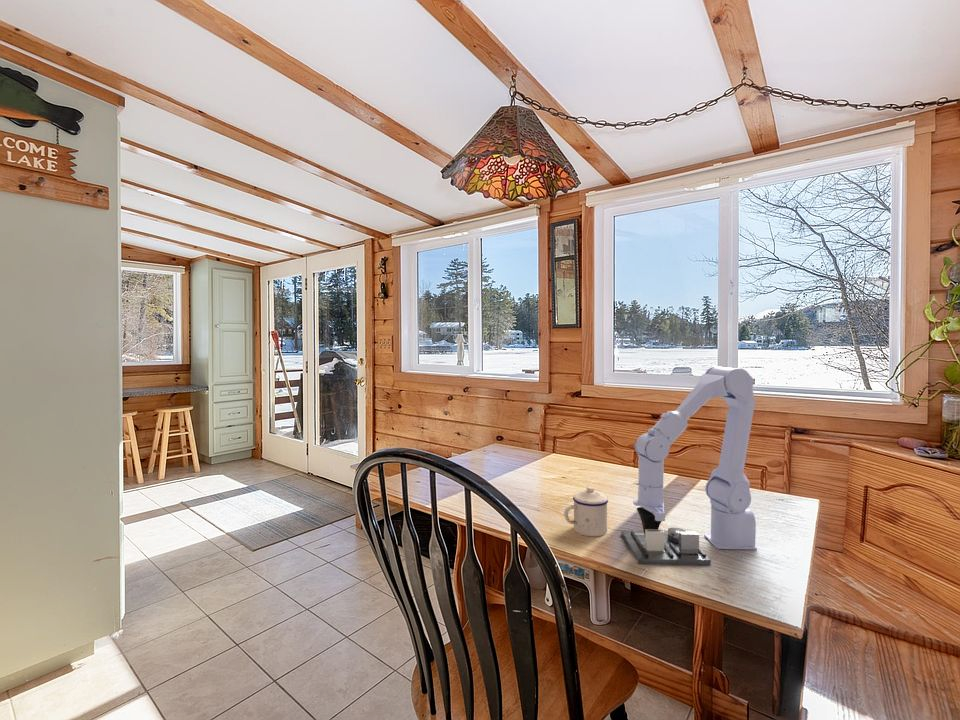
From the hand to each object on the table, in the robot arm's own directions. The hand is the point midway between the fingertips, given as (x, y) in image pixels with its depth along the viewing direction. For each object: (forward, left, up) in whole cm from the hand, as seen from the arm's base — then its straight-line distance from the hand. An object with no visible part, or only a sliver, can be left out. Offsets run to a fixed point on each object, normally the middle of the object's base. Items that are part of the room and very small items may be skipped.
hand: (650, 538), depth 116 cm
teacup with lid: (+14, -10, -3) cm, 17 cm away
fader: (0, +4, -1) cm, 4 cm away
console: (-3, 0, -2) cm, 4 cm away
